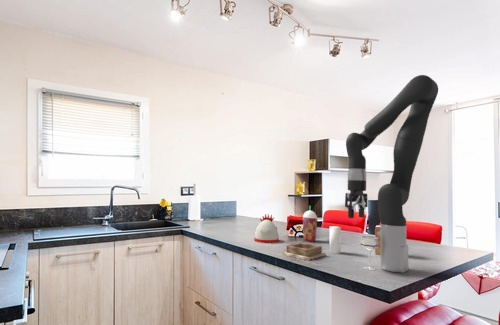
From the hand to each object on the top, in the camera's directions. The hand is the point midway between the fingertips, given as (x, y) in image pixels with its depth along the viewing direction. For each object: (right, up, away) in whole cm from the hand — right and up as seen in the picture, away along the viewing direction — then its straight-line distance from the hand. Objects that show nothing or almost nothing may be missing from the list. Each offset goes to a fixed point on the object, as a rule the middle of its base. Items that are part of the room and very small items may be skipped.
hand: (356, 217), depth 132 cm
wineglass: (+1, -18, -11) cm, 21 cm away
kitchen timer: (-36, -21, +43) cm, 60 cm away
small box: (+19, -20, +15) cm, 32 cm away
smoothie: (-11, -21, +45) cm, 51 cm away
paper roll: (-5, -20, +17) cm, 26 cm away
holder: (-21, -19, +10) cm, 30 cm away
